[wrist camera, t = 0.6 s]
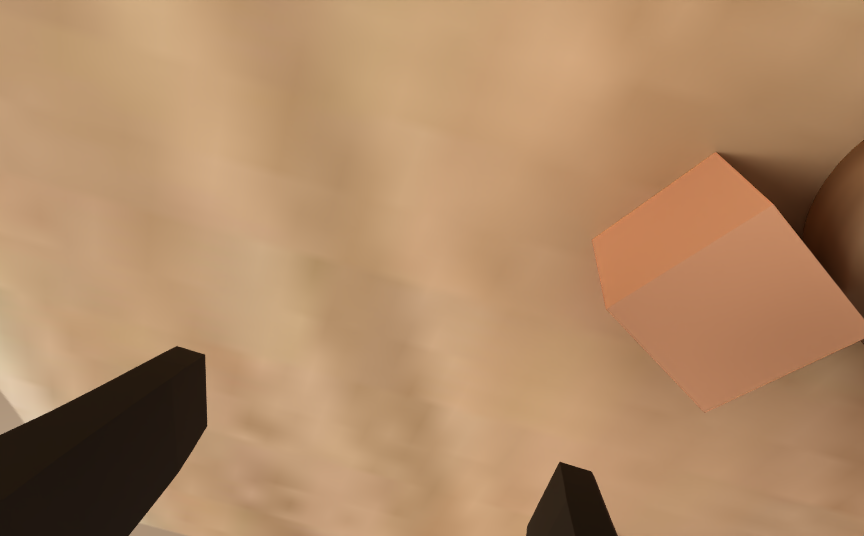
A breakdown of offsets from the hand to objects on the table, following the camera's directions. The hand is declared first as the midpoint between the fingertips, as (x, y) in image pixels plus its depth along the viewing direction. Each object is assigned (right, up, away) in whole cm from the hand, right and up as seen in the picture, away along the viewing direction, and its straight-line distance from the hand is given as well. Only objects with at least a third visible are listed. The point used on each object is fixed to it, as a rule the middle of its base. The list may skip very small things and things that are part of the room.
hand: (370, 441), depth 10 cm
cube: (+10, +4, +7) cm, 13 cm away
